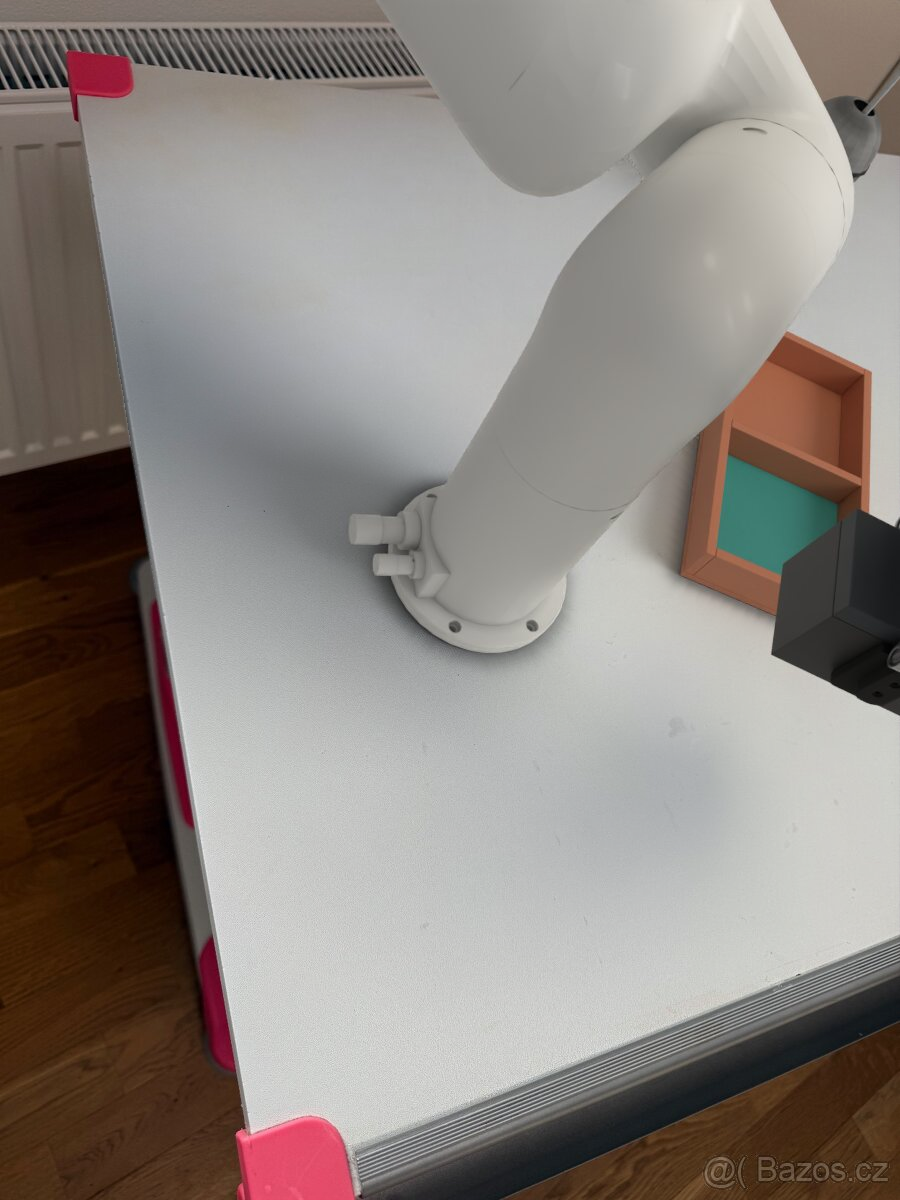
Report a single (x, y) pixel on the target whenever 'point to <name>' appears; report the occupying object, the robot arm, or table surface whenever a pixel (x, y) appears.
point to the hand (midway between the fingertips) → (860, 634)
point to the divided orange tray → (778, 470)
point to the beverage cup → (858, 127)
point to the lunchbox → (840, 597)
